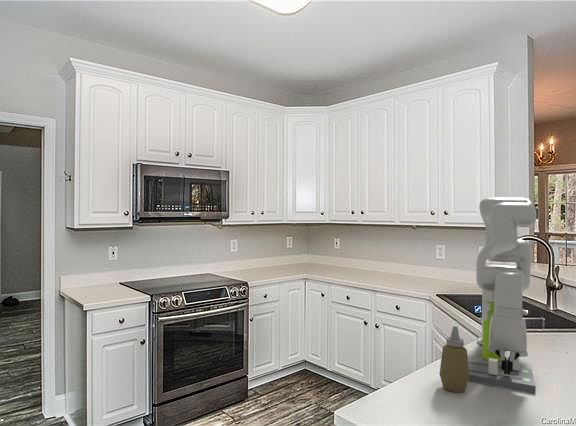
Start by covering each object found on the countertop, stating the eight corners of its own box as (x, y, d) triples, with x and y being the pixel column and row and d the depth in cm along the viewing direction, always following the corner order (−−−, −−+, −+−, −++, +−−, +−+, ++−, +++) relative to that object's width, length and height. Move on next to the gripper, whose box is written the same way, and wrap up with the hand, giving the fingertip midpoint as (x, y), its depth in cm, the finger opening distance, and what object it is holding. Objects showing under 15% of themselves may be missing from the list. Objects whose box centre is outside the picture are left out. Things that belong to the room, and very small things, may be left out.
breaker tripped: (488, 370, 131) (488, 357, 131) (497, 372, 129) (497, 359, 129) (488, 373, 128) (488, 360, 128) (497, 375, 127) (497, 362, 127)
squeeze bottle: (433, 385, 124) (434, 324, 124) (454, 382, 127) (455, 322, 127) (453, 396, 116) (455, 331, 116) (475, 392, 119) (476, 329, 120)
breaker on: (509, 366, 135) (510, 353, 135) (518, 367, 134) (519, 355, 134) (510, 369, 132) (510, 356, 132) (519, 370, 131) (519, 357, 131)
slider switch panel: (457, 362, 144) (458, 356, 144) (531, 375, 134) (531, 368, 134) (453, 378, 130) (453, 371, 130) (535, 393, 120) (535, 385, 120)
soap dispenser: (493, 355, 154) (494, 300, 154) (504, 361, 147) (505, 304, 147) (478, 354, 154) (479, 300, 154) (487, 361, 147) (488, 304, 147)
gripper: (535, 313, 127) (534, 373, 127) (481, 307, 134) (480, 365, 134) (537, 318, 121) (536, 382, 120) (480, 311, 127) (479, 372, 127)
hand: (506, 373), depth 127 cm, fingers closed
